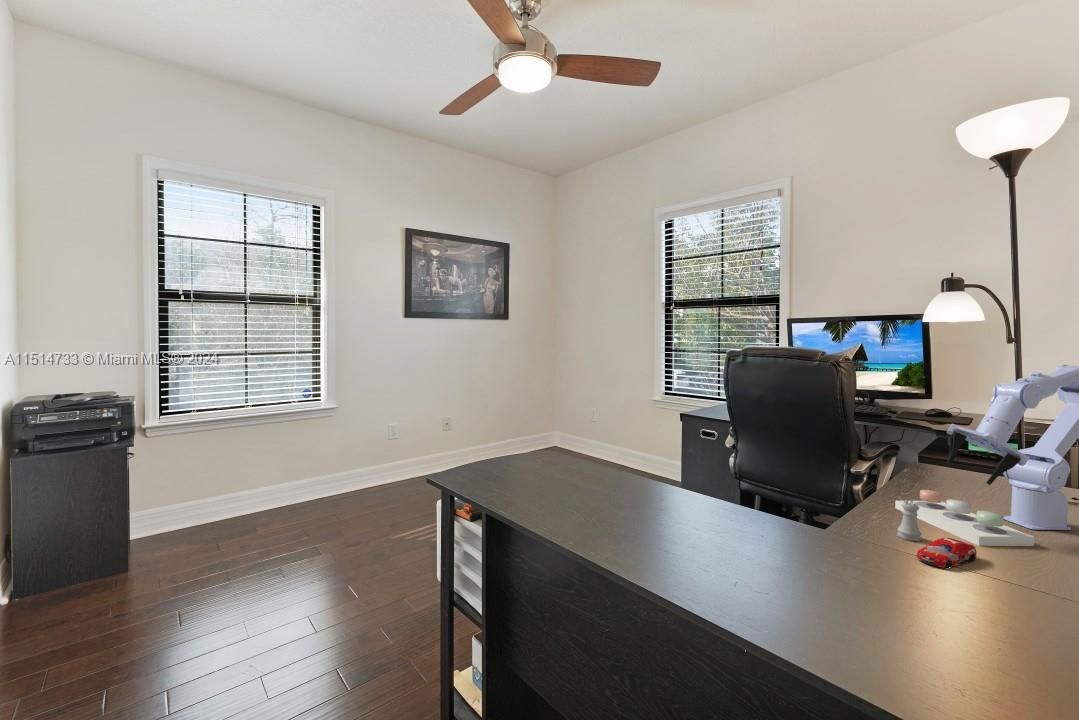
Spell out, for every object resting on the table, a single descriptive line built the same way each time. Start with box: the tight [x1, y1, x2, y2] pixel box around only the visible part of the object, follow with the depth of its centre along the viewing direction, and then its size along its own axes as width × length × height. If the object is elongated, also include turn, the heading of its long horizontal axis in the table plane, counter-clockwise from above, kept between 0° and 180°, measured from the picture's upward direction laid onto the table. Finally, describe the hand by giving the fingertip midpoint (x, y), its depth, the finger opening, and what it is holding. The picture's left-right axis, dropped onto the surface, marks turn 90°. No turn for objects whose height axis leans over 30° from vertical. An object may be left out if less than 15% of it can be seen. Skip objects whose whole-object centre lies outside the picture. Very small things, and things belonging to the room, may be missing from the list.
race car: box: [916, 537, 978, 569], centre depth 98 cm, size 13×5×4 cm, turn 112°
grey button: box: [945, 498, 972, 514], centre depth 117 cm, size 4×4×2 cm
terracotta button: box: [919, 489, 943, 503], centre depth 125 cm, size 4×4×2 cm
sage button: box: [976, 510, 1005, 527], centre depth 109 cm, size 4×4×2 cm
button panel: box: [894, 500, 1035, 547], centre depth 117 cm, size 12×24×2 cm, turn 1°
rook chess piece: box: [896, 500, 923, 543], centre depth 109 cm, size 4×4×8 cm
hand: (968, 473), depth 112 cm, fingers open, 7 cm apart
